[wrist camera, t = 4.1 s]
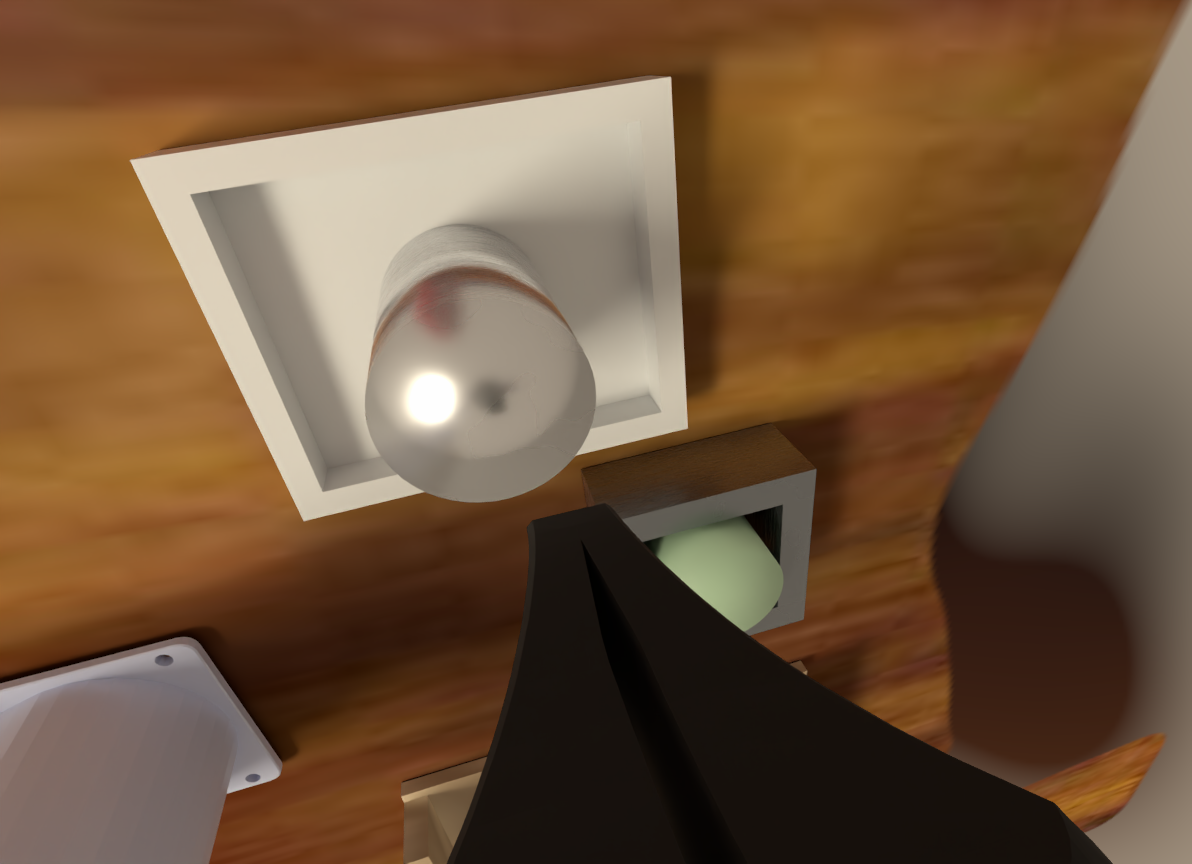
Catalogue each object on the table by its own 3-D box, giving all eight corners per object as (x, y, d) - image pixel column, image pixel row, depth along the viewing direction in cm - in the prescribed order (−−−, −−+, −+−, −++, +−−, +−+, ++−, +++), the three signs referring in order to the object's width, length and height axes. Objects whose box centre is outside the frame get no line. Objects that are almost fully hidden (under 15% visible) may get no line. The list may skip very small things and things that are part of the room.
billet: (406, 395, 18) (402, 524, 13) (356, 241, 16) (329, 326, 11) (555, 362, 19) (607, 473, 14) (529, 210, 16) (580, 276, 11)
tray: (311, 488, 19) (303, 520, 18) (157, 150, 14) (130, 160, 13) (670, 404, 21) (687, 428, 19) (649, 75, 16) (670, 77, 14)
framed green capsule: (604, 610, 25) (625, 672, 22) (580, 469, 21) (603, 524, 19) (766, 565, 26) (803, 619, 23) (771, 423, 22) (816, 468, 20)
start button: (642, 588, 24) (671, 655, 21) (633, 506, 22) (664, 569, 19) (740, 560, 24) (780, 622, 22) (741, 478, 22) (786, 535, 20)
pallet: (451, 877, 32) (454, 949, 29) (401, 783, 27) (399, 859, 25) (791, 764, 35) (821, 821, 32) (800, 660, 30) (837, 717, 27)
